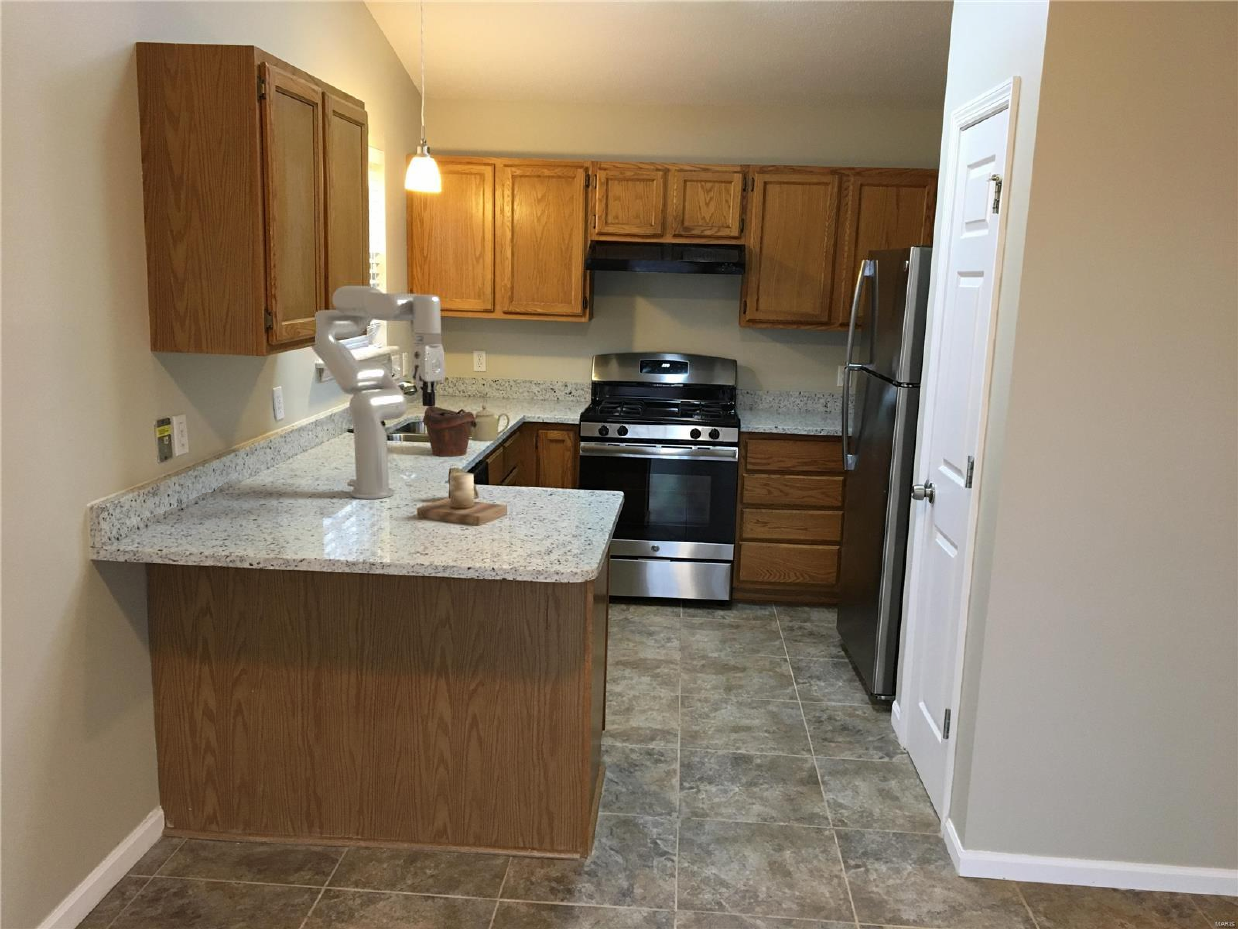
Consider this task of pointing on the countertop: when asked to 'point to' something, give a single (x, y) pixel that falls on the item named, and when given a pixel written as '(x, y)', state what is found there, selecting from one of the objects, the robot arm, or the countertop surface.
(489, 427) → the sugar bowl
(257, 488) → the countertop surface
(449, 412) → the brown tapered pot
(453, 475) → the peg
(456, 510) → the board
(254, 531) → the countertop surface
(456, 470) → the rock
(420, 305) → the robot arm
